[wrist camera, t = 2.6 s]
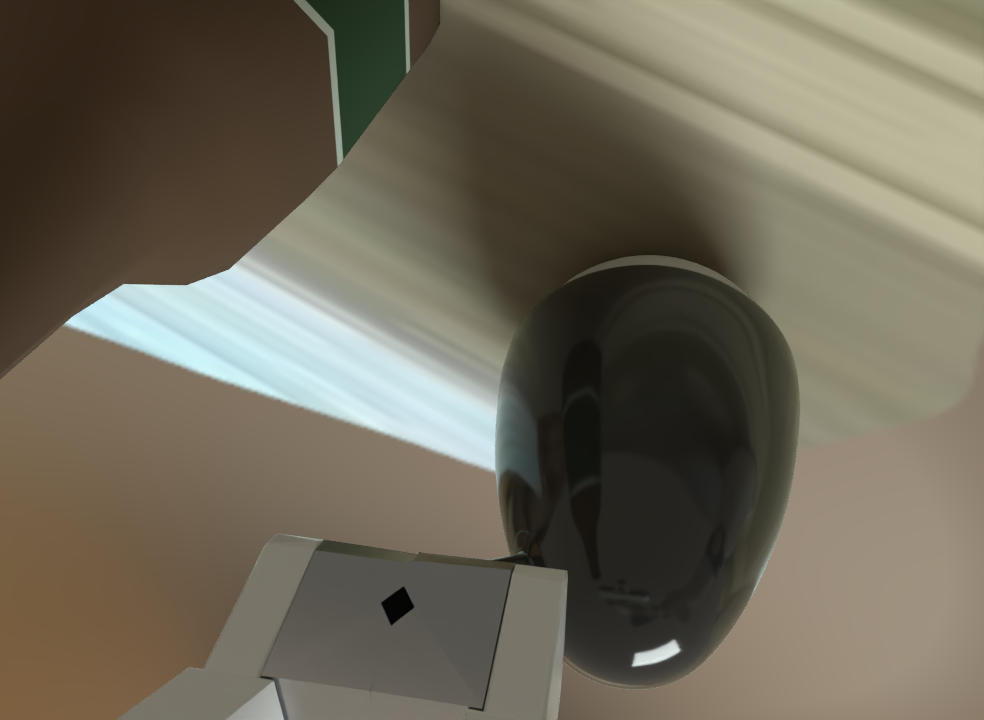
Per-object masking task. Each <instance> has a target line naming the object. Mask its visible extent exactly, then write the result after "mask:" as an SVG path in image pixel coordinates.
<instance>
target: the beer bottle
mask: <svg viewBox="0 0 984 720" xmlns="http://www.w3.org/2000/svg"><path fill="white" fill-rule="evenodd" d="M439 24H440V0H0V379H1V378H2V377H3V376H4V375H6V374H7V373H8V372H9V371H10V370H11V369H13V368H14V367H15V366H16V365H17V364H18V363H19V362H21V361H22V360H23V359H24V358H25V357H26V356H28V355H29V354H30V353H31V352H32V351H33V350H34V349H36V348H37V347H38V346H39V345H40V344H41V343H42V342H44V340H46V339H47V338H48V337H49V336H50V335H52V334H53V333H54V332H55V331H56V330H57V329H58V328H60V327H61V326H62V325H63V324H64V323H65V322H66V321H68V320H69V319H70V318H71V317H72V316H74V315H75V314H77V313H79V312H80V311H82V310H83V309H85V308H86V307H88V306H90V305H91V304H93V303H94V302H96V301H98V300H99V299H101V298H102V297H104V296H105V295H107V294H109V293H110V292H112V291H113V290H115V289H116V288H118V287H120V286H121V285H123V284H153V285H188V284H191V283H194V282H196V281H199V280H202V279H204V278H207V277H210V276H212V275H215V274H218V273H220V272H223V271H226V270H228V269H230V268H231V267H232V266H233V265H234V264H235V263H236V262H237V261H239V260H240V259H241V258H242V257H243V256H244V255H245V254H246V253H247V252H248V251H250V250H251V249H252V248H253V247H254V246H255V245H256V244H257V243H258V242H259V241H261V240H262V239H263V238H264V237H265V236H266V235H267V234H268V233H269V232H270V231H271V230H273V229H274V228H275V227H276V226H277V225H278V224H279V223H280V222H281V221H282V220H284V219H285V218H286V217H287V216H288V215H289V214H290V213H291V212H292V211H293V210H295V209H296V208H297V207H298V206H299V205H300V204H301V203H302V202H303V201H304V200H305V199H306V198H307V197H308V196H309V195H310V194H311V193H312V192H313V191H314V190H315V189H316V188H317V187H318V186H319V185H320V184H321V183H322V182H323V181H324V180H325V179H326V178H327V177H328V176H329V175H330V174H331V173H332V172H333V171H334V170H335V169H336V168H337V167H338V166H339V164H340V163H341V162H342V160H343V159H344V158H345V156H346V155H347V154H348V152H349V151H350V150H351V148H352V147H353V146H354V144H355V143H356V142H357V140H358V139H359V138H360V136H361V135H362V133H363V132H364V131H365V129H366V128H367V127H368V125H369V124H370V123H371V121H372V120H373V119H374V117H375V116H376V115H377V113H378V112H379V111H380V109H381V108H382V107H383V105H384V104H385V102H386V101H387V100H388V98H389V97H390V96H391V94H392V93H393V92H394V90H395V89H396V88H397V86H398V85H399V84H400V82H401V81H402V80H403V78H404V77H405V76H406V74H407V73H408V71H409V70H410V69H411V67H412V66H413V65H414V63H415V62H416V61H417V59H418V58H419V57H420V55H421V54H422V53H423V51H424V50H425V49H426V47H427V46H428V45H429V43H430V41H431V39H432V38H433V36H434V34H435V32H436V30H437V28H438V26H439Z"/></svg>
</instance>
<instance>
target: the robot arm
mask: <svg viewBox="0 0 984 720" xmlns="http://www.w3.org/2000/svg"><path fill="white" fill-rule="evenodd" d="M567 583H568V574H567V571H566V570H559V569H551V568H543V567H535V566H527V565H519V564H516V563H510V562H501V561H492V560H482V559H474V558H465V557H456V556H447V555H439V554H429V553H421V552H419V553H418V554H415V553H408V552H402V551H395V550H389V549H382V548H376V547H369V546H362V545H356V544H349V543H343V542H336V541H330V540H321V539H314V538H307V537H300V536H292V535H285V534H276V535H275V536H274V537H273V538H272V539H271V540H270V541H269V542H268V543H267V544H266V545H265V546H264V548H263V550H262V552H261V554H260V556H259V558H258V560H257V562H256V564H255V566H254V568H253V570H252V572H251V574H250V576H249V578H248V580H247V582H246V584H245V586H244V588H243V590H242V592H241V594H240V596H239V598H238V600H237V602H236V604H235V606H234V608H233V610H232V612H231V614H230V616H229V618H228V620H227V622H226V624H225V626H224V628H223V630H222V632H221V634H220V636H219V638H218V640H217V642H216V644H215V646H214V648H213V650H212V652H211V654H210V656H209V658H208V660H207V662H206V664H205V666H204V668H203V669H198V668H187V669H186V670H184V671H183V672H182V673H180V674H179V675H177V676H176V677H175V678H173V679H172V680H171V681H169V682H168V683H166V684H165V685H164V686H162V687H161V688H159V689H158V690H157V691H155V692H154V693H153V694H151V695H150V696H148V697H147V698H146V699H144V700H143V701H142V702H140V703H139V704H137V705H136V706H135V707H133V708H132V709H130V710H129V711H128V712H126V713H125V714H124V715H122V716H121V717H119V718H118V719H117V720H557V715H558V708H559V700H560V690H561V678H562V665H563V653H564V640H565V621H566V602H567Z"/></svg>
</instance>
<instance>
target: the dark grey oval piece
mask: <svg viewBox="0 0 984 720" xmlns="http://www.w3.org/2000/svg"><path fill="white" fill-rule="evenodd" d="M799 421H800V395H799V384H798V376H797V370H796V366H795V362H794V358H793V355H792V352H791V350H790V347H789V345H788V343H787V341H786V339H785V337H784V336H783V334H782V332H781V331H780V329H779V328H778V326H777V325H776V324H775V322H774V321H773V320H772V319H771V318H770V316H769V315H768V314H767V313H766V312H765V311H764V310H763V309H762V308H761V307H760V306H759V305H757V304H756V303H755V302H754V301H753V300H752V299H751V298H750V297H749V296H748V295H747V294H746V293H745V292H744V291H743V290H741V289H740V288H739V287H738V286H736V285H735V284H734V283H733V282H731V281H730V280H728V279H727V278H725V277H724V276H722V275H721V274H719V273H717V272H715V271H713V270H711V269H709V268H707V267H704V266H702V265H700V264H697V263H694V262H691V261H688V260H684V259H680V258H675V257H668V256H659V255H638V256H630V257H623V258H619V259H614V260H611V261H607V262H604V263H601V264H599V265H596V266H594V267H591V268H589V269H587V270H585V271H583V272H581V273H580V274H578V275H576V276H575V277H573V278H572V279H570V280H569V281H567V282H566V283H565V284H563V285H562V286H561V287H559V288H557V289H556V290H554V291H553V292H551V293H550V294H549V295H547V296H546V297H545V298H544V299H542V300H541V301H540V302H539V303H538V304H537V305H536V306H535V307H534V308H533V309H532V310H531V311H530V312H529V313H528V315H527V316H526V317H525V318H524V320H523V321H522V323H521V324H520V326H519V327H518V329H517V331H516V333H515V335H514V336H513V339H512V341H511V343H510V346H509V349H508V352H507V355H506V358H505V362H504V366H503V370H502V375H501V380H500V386H499V394H498V405H497V416H496V432H495V467H496V482H497V491H498V500H499V507H500V513H501V519H502V524H503V529H504V534H505V538H506V542H507V546H508V550H509V554H510V556H506V557H501V558H496V559H490V560H492V561H501V562H510V563H516V564H519V565H527V566H535V567H543V568H551V569H559V570H566V571H567V574H568V583H567V602H566V621H565V640H564V653H563V662H564V663H565V664H567V665H568V666H569V667H570V668H572V669H573V670H574V671H576V672H577V673H579V674H580V675H582V676H584V677H586V678H588V679H590V680H592V681H595V682H597V683H600V684H603V685H606V686H610V687H615V688H620V689H630V690H641V689H651V688H656V687H660V686H664V685H667V684H670V683H673V682H675V681H677V680H679V679H681V678H683V677H685V676H687V675H689V674H690V673H691V672H693V671H694V670H696V669H697V668H698V667H699V666H700V665H701V664H703V663H704V662H705V661H706V660H707V659H708V658H709V657H710V656H711V655H712V654H713V653H714V651H715V650H716V649H717V648H718V647H719V645H720V644H721V643H722V642H723V641H724V639H725V638H726V637H727V635H728V634H729V633H730V631H731V630H732V628H733V627H734V626H735V624H736V622H737V621H738V619H739V618H740V616H741V614H742V613H743V611H744V609H745V607H746V606H747V604H748V602H749V600H750V598H751V596H752V594H753V593H754V591H755V589H756V587H757V585H758V583H759V580H760V578H761V576H762V574H763V572H764V570H765V567H766V565H767V562H768V560H769V558H770V556H771V553H772V551H773V548H774V545H775V543H776V540H777V537H778V535H779V532H780V528H781V525H782V522H783V519H784V515H785V512H786V508H787V504H788V500H789V496H790V492H791V487H792V482H793V476H794V469H795V463H796V454H797V445H798V434H799Z"/></svg>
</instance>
